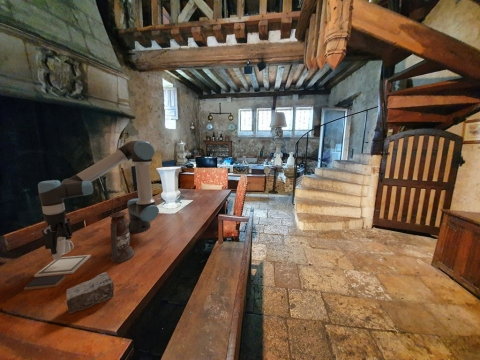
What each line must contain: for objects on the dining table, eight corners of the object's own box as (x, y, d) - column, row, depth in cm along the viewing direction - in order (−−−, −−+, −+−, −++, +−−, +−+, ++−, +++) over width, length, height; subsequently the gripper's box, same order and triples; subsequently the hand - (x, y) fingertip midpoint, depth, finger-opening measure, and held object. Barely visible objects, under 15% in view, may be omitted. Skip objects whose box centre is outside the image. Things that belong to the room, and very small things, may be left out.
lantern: (103, 266, 93) (94, 202, 86) (120, 248, 108) (113, 193, 102) (126, 265, 94) (118, 201, 87) (139, 247, 110) (133, 192, 103)
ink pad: (65, 277, 85) (65, 274, 84) (56, 286, 79) (55, 283, 79) (36, 280, 83) (35, 277, 82) (24, 289, 77) (23, 286, 77)
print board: (90, 256, 101) (90, 254, 101) (72, 273, 88) (72, 271, 87) (58, 258, 98) (57, 257, 98) (34, 277, 85) (33, 275, 85)
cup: (55, 251, 94) (52, 237, 92) (78, 248, 97) (76, 235, 95) (45, 259, 87) (42, 244, 86) (70, 256, 90) (67, 241, 88)
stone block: (111, 284, 81) (109, 269, 80) (115, 296, 75) (113, 280, 73) (68, 303, 71) (65, 286, 70) (69, 318, 65) (65, 300, 64)
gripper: (61, 206, 96) (68, 245, 100) (26, 220, 77) (36, 268, 82) (77, 205, 97) (83, 244, 102) (46, 219, 79) (55, 266, 83)
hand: (62, 254), depth 92 cm, fingers closed on cup, 6 cm apart
